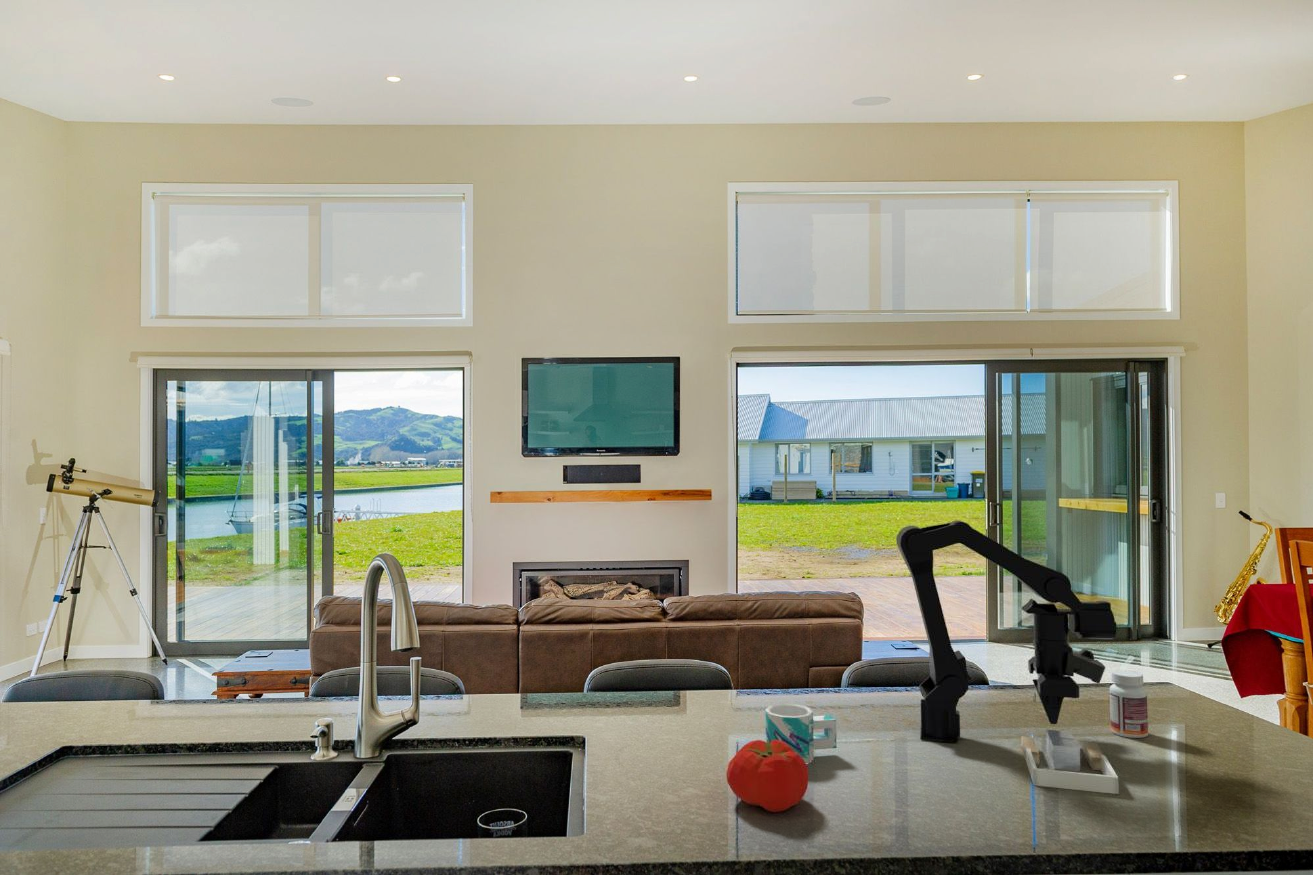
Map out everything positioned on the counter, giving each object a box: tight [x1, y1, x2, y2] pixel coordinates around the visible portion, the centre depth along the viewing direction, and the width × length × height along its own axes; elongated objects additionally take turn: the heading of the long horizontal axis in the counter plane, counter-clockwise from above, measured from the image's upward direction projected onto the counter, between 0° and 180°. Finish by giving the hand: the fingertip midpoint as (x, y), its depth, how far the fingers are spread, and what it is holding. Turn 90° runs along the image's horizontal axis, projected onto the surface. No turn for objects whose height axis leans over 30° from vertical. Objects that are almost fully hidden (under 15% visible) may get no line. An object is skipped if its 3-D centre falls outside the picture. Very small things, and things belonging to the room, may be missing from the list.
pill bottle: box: [1109, 669, 1149, 739], centre depth 155 cm, size 6×6×11 cm
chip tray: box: [1025, 748, 1120, 795], centre depth 134 cm, size 12×10×2 cm
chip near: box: [1049, 738, 1081, 773], centre depth 139 cm, size 4×4×4 cm
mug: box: [765, 703, 837, 764], centre depth 144 cm, size 8×12×8 cm
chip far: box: [1045, 729, 1076, 760], centre depth 143 cm, size 4×4×4 cm
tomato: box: [725, 739, 809, 813], centre depth 125 cm, size 13×12×8 cm
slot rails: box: [1020, 735, 1103, 771], centre depth 142 cm, size 12×8×2 cm, turn 72°
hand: (1053, 723), depth 151 cm, fingers closed
